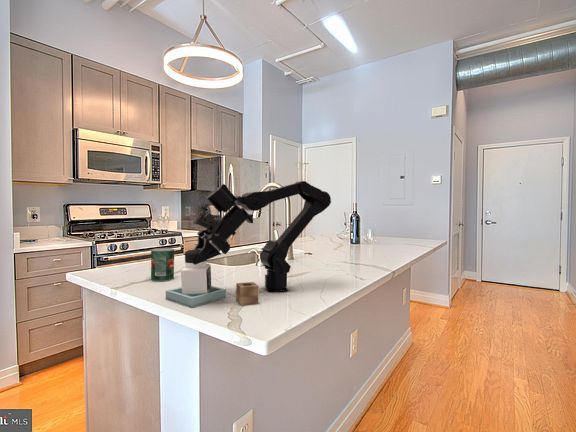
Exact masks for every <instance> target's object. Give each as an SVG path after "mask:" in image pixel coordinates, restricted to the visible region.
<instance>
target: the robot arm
mask: <svg viewBox="0 0 576 432" xmlns="http://www.w3.org/2000/svg"><path fill="white" fill-rule="evenodd" d="M296 195H299V196H300V198H301V199H302V200H303V201H304V204H303V208H302V210H301V211H300V212H299V213H298V214H297V216H296V217H295V218H294V219H293V220H292V221H291V223H290V224H289V225H288V226H287V227H286V229H285V230H284V231H283V232H282V233H281V235H280V236H279V237H278V238H277V239H276V240H270V239H269V240H268V241H267V242H266V244H265V245H264V246H263V247H262V248H261V252H260V253H259V260H260V262H261V263H262V264H263V265H264V266H263V267H264V269H265V270H266V274H264V288H265V290H266V291H267V292H269V293H274V292H275V293H277V292H289V289H288V274H289V272H290V271H291V267H292V265H290V263H288V262H287V261H286V258H288V252H289V250H290V247H291V246H292V244H294V242H295V241H296V240H297V239H298V237H300V235H301V234H302V233H303V232H304V230H305V229H306V227H307V226H308V225H309V224H310V222H311V221H312V220H313V219H314V217H316V216H317V215H319V214H321V213H323V212H324V211H325V210H326V209H327V208H328V207H330V205H331V204H332V198H331V195H330V194H329V193H328V192H327V191H324V190H322V189H320V188H318V187H317V186H314V185H311V184H310V183H309V182H307V181H305V180H302V181H301V180H300V181H296V182H294V183H291V184H287V185H283V186H281V187H280V186H279V187H276V188H273V189H269V190H265V191H264V190H263V191H262V190H261V191H251V192H245V193H243V194H242V195H241V196H240V195H239V196H238V195H236V196H235V195H234V194H233V192H232V191H231V190H230V189H229V187H228V186H227V185H226V184H225V183H222V184H221V185H220V186H218V187H217V188H215V189H214V190H212V191H211V192H210V193H209V194H208V195H207V196H206V197H205V199H206V200H207V202H209V203H210V204H211V205H212V206H213V208H214V209H215V210H216V211H217V212H218V213H221V212H223V213H225V214H224V215H223V216H222V217H221V218H217V219H216V220H215V218H214V214H211V213H206V214H205V215H204V214H202V213H197V214H196V217H194V218H195V219H194V220H193V222H192V223H193V224H194V225H197V226H201V227H203V228H205V229H203V228H202V229H200V230H199V231H198V232H196V235H197V244H196V246H195V247H194V249H201V251H200V252H199V253H198V255H197V256H196V257H195V259H194V260H193V262H192V263H193V264H194V265H196V264H198V263H201V262H203V261H205V260H207V261H208V260H209V259H213V258H214V257H218V256H221V255H222V254H223V255H226V254H227V253H228V252H229V251H230V250H231V244H230V243H229V242H228V241H227V240H228V239H229V238H230V237H231V236H234V235H236V234H237V232H236V231H237V230H238V229H239V228H240V227H241V226H243V224H244V223H245V222H246V223H247V224H254V219H253V218H254V215H253V213H252V214H249V212H248V211H250V212H251V211H252V212H256V211H257V212H258V211H260V210H262V209H264V208H265V207H267V206H268V205H270V204H271V203H274V202H276V201H280V200H282V199H286V198H289V197H292V196H296ZM239 206H241V208H240V207H239Z"/></svg>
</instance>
